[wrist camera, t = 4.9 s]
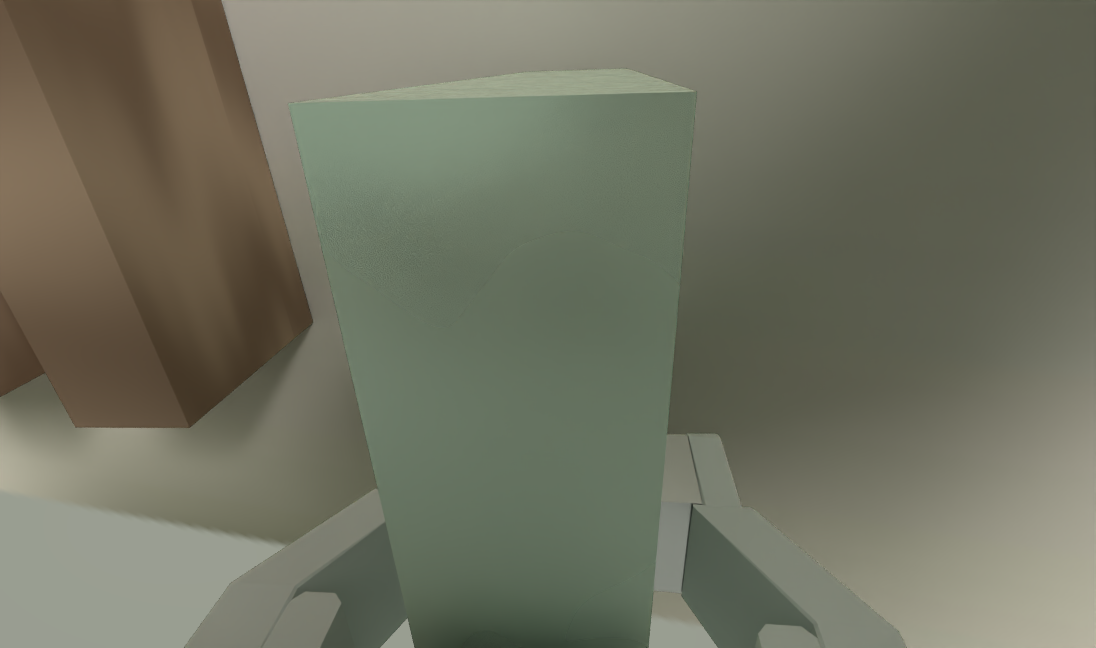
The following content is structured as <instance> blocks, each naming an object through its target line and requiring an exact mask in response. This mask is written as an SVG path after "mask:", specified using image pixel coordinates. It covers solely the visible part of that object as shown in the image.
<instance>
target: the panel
mask: <svg viewBox="0 0 1096 648" xmlns="http://www.w3.org/2000/svg"><path fill="white" fill-rule="evenodd" d="M696 96H697V91H694V90H691V89H688V88H685V87H682V86H679V85H676V84H673V83H670V82H667V81H664V80H661V79H658V78H655V77H652V76H649V75H646V74H643V73H640V72H637V71H634V70H630V69H627V68H622V69H592V70H562V71H532V72H521V73H513V74H506V75H498V76H491V77H483V78H475V79H468V80H460V81H453V82H445V83H437V84H430V85H422V86H415V87H407V88H400V89H392V90H384V91H377V92H369V93H362V94H354V95H346V96H339V97H331V98H324V99H316V100H308V101H301V102H293V103H288V105H289V110H290V114H291V118H292V123H293V127H294V131H295V136H296V140H297V144H298V148H299V153H300V157H301V161H302V166H303V170H304V174H305V179H306V183H307V187H308V191H309V196H310V200H311V204H312V209H313V213H314V217H315V222H316V226H317V230H318V234H319V239H320V243H321V247H322V252H323V256H324V260H325V265H326V269H327V273H328V277H329V282H330V286H331V290H332V295H333V299H334V303H335V308H336V312H337V316H338V320H339V325H340V329H341V333H342V338H343V342H344V346H345V351H346V355H347V359H348V363H349V368H350V372H351V376H352V381H353V385H354V389H355V394H356V398H357V402H358V406H359V411H360V415H361V419H362V424H363V428H364V432H365V437H366V441H367V445H368V449H369V454H370V458H371V462H372V467H373V471H374V475H375V480H376V484H377V488H378V492H379V497H380V501H381V505H382V510H383V514H384V518H385V523H386V527H387V531H388V535H389V540H390V544H391V548H392V553H393V557H394V561H395V566H396V570H397V574H398V578H399V583H400V587H401V591H402V596H403V600H404V604H405V609H406V613H407V617H408V621H409V625H410V630H411V634H412V639H413V643H414V647H415V648H648V647H649V636H650V624H651V613H652V601H653V590H654V578H655V567H656V555H657V544H658V532H659V521H660V509H661V498H662V486H663V475H664V464H665V452H666V441H667V429H668V418H669V406H670V395H671V383H672V372H673V360H674V349H675V337H676V326H677V314H678V303H679V291H680V280H681V268H682V257H683V245H684V234H685V222H686V211H687V199H688V188H689V176H690V165H691V153H692V142H693V130H694V119H695V107H696Z"/></svg>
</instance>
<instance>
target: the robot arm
mask: <svg viewBox="0 0 1096 648" xmlns="http://www.w3.org/2000/svg"><path fill="white" fill-rule="evenodd" d="M653 591H662V592H673V593H682V597H683V599H684V600H685V602H686V603H687V604H688V606H689V607H690V609H691V610H692V612H693V613H694V614H695V616H696V617H697V619H698V620H699V621H700V623H701V624H702V626H703V627H704V629H705V630H706V631H707V633H708V634H709V636H710V637H711V638H712V640H713V641H714V643H715V644H716V645H717V647H718V648H907V647H906V645H905V643H904V641H903V639H902V637H901V635H900V633H899V631H898V630H897V629H895V628H894V627H893V626H892V625H891V624H889V623H888V622H887V621H886V620H885V619H884V618H882V617H881V616H880V615H879V614H878V613H876V612H875V611H874V610H873V609H872V608H871V607H869V606H868V605H867V604H866V603H865V602H863V601H862V600H861V599H860V598H859V597H857V596H856V595H855V594H854V593H853V592H852V591H850V590H849V589H848V588H847V587H846V586H844V585H843V584H842V583H841V582H840V581H839V580H837V579H836V578H835V577H834V576H833V575H831V574H830V573H829V572H828V571H827V570H825V569H824V568H823V567H822V566H821V565H820V564H818V563H817V562H816V561H815V560H814V559H812V558H811V557H810V556H809V555H808V554H807V553H805V552H804V551H803V550H802V549H801V548H799V547H798V546H797V545H796V544H795V543H793V542H792V541H791V540H790V539H789V538H788V537H786V536H785V535H784V534H783V533H782V532H780V531H779V530H778V529H777V528H776V527H774V526H773V525H772V524H771V523H770V522H769V521H767V520H766V519H765V518H764V517H763V516H761V515H760V514H759V513H758V512H757V511H756V510H754V509H753V508H751V507H742V505H741V502H740V498H739V495H738V492H737V489H736V486H735V482H734V479H733V476H732V473H731V470H730V466H729V463H728V460H727V457H726V454H725V450H724V447H723V444H722V441H721V438H720V437H719V436H718V435H717V434H697V433H686V435H685V434H667V441H666V452H665V464H664V475H663V486H662V498H661V509H660V521H659V532H658V544H657V555H656V567H655V578H654V590H653ZM407 618H408V617H407V613H406V609H405V604H404V600H403V596H402V591H401V587H400V583H399V578H398V574H397V570H396V566H395V561H394V557H393V553H392V548H391V544H390V540H389V535H388V531H387V527H386V523H385V518H384V514H383V510H382V505H381V501H380V497H379V492H378V489H373V490H372V491H370V492H369V493H367V494H366V495H364V496H363V497H361V498H360V499H358V500H357V501H355V502H354V503H352V504H350V505H349V506H347V507H346V508H344V509H343V510H341V511H340V512H338V513H337V514H335V515H334V516H332V517H331V518H329V519H328V520H326V521H324V522H323V523H321V524H320V525H318V526H317V527H315V528H314V529H312V530H311V531H309V532H308V533H306V534H305V535H303V536H302V537H300V538H298V539H297V540H295V541H294V542H292V543H291V544H289V545H288V546H286V547H285V548H283V549H282V550H280V551H279V552H277V553H276V554H274V555H273V556H271V557H270V558H268V559H267V560H265V561H263V562H262V563H260V564H259V565H257V566H256V567H254V568H253V569H251V570H250V571H248V572H247V573H245V574H244V575H242V576H240V577H239V578H237V579H236V580H234V581H233V582H231V583H230V585H229V586H228V587H227V589H226V590H225V591H224V593H223V594H222V596H221V597H220V598H219V600H218V601H217V603H216V604H215V605H214V607H213V608H212V610H211V611H210V612H209V614H208V615H207V616H206V618H205V619H204V620H203V622H202V623H201V625H200V626H199V627H198V629H197V630H196V632H195V633H194V634H193V636H192V637H191V638H190V640H189V641H188V643H187V644H186V646H185V647H184V648H380V647H381V646H382V645H383V644H384V643H385V642H386V641H387V639H388V638H389V637H390V636H391V635H392V634H393V633H394V632H395V631H396V630H397V629H398V628H399V627H400V625H401V624H402V623H403V622H404V621H405V620H406V619H407Z"/></svg>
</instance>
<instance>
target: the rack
mask: <svg viewBox="0 0 1096 648" xmlns="http://www.w3.org/2000/svg"><path fill="white" fill-rule="evenodd" d="M312 323H313V320H312V317H311V313H310V310H309V306H308V303H307V299H306V296H305V292H304V289H303V285H302V282H301V278H300V275H299V271H298V268H297V264H296V261H295V257H294V254H293V250H292V247H291V243H290V240H289V236H288V233H287V229H286V226H285V222H284V219H283V215H282V212H281V208H280V205H279V201H278V198H277V194H276V191H275V187H274V184H273V180H272V177H271V173H270V170H269V166H268V163H267V159H266V156H265V152H264V149H263V145H262V142H261V138H260V135H259V131H258V128H257V124H256V121H255V117H254V114H253V110H252V107H251V103H250V100H249V96H248V93H247V89H246V86H245V82H244V79H243V75H242V72H241V68H240V65H239V61H238V58H237V54H236V51H235V47H234V44H233V40H232V37H231V33H230V30H229V26H228V23H227V19H226V16H225V12H224V9H223V5H222V2H221V0H0V397H1V396H3V395H4V394H6V393H8V392H10V391H12V390H14V389H16V388H18V387H19V386H21V385H23V384H25V383H27V382H29V381H31V380H33V379H34V378H36V377H38V376H40V375H42V374H44V373H46V375H47V376H48V378H49V380H50V382H51V384H52V386H53V387H54V389H55V391H56V393H57V395H58V396H59V398H60V400H61V402H62V404H63V406H64V407H65V409H66V411H67V413H68V415H69V416H70V418H71V420H72V422H73V424H74V426H75V427H101V428H190V427H191V426H192V425H193V424H195V423H196V422H197V421H198V420H199V419H200V418H202V417H203V416H204V415H205V414H206V413H207V412H209V411H210V410H211V409H212V408H213V407H215V406H216V405H217V404H218V403H219V402H220V401H222V400H223V399H224V398H225V397H226V396H227V395H229V394H230V393H231V392H232V391H233V390H234V389H236V388H237V387H238V386H239V385H240V384H241V383H243V382H244V381H245V380H246V379H247V378H249V377H250V376H251V375H252V374H253V373H254V372H256V371H257V370H258V369H259V368H260V367H261V366H263V365H264V364H265V363H266V362H267V361H268V360H270V359H271V358H272V357H273V356H274V355H275V354H277V353H278V352H279V351H280V350H281V349H283V348H284V347H285V346H286V345H287V344H288V343H290V342H291V341H292V340H293V339H294V338H295V337H297V336H298V335H299V334H300V333H301V332H302V331H304V330H305V329H306V328H307V327H308V326H309V325H311V324H312Z"/></svg>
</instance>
